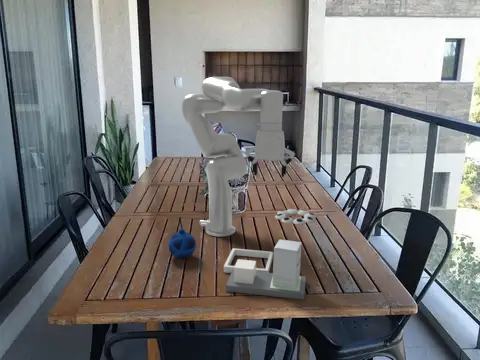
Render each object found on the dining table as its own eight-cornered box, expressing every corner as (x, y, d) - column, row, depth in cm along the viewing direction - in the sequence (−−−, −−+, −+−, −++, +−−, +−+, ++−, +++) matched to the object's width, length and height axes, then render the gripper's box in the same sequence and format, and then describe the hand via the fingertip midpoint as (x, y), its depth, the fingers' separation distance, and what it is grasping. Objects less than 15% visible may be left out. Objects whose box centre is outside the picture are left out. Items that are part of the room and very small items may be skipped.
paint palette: (302, 228, 184) (302, 224, 184) (266, 218, 196) (266, 214, 196) (324, 217, 199) (325, 213, 198) (289, 208, 211) (290, 204, 210)
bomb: (189, 248, 162) (188, 211, 158) (200, 260, 152) (199, 221, 148) (164, 253, 157) (163, 215, 153) (173, 265, 148) (172, 225, 144)
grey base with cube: (225, 291, 131) (226, 270, 130) (233, 274, 142) (233, 255, 140) (304, 299, 127) (305, 278, 125) (305, 281, 138) (306, 262, 136)
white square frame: (223, 272, 144) (223, 266, 143) (232, 253, 158) (232, 248, 157) (267, 276, 141) (267, 270, 140) (272, 257, 155) (272, 251, 154)
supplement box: (295, 289, 129) (297, 251, 125) (271, 285, 131) (273, 247, 128) (300, 278, 135) (302, 241, 132) (277, 274, 138) (279, 238, 134)
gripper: (244, 127, 144) (243, 176, 148) (295, 129, 140) (293, 179, 145) (247, 124, 151) (246, 171, 155) (296, 126, 148) (294, 174, 152)
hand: (269, 175), depth 150 cm, fingers open, 9 cm apart
